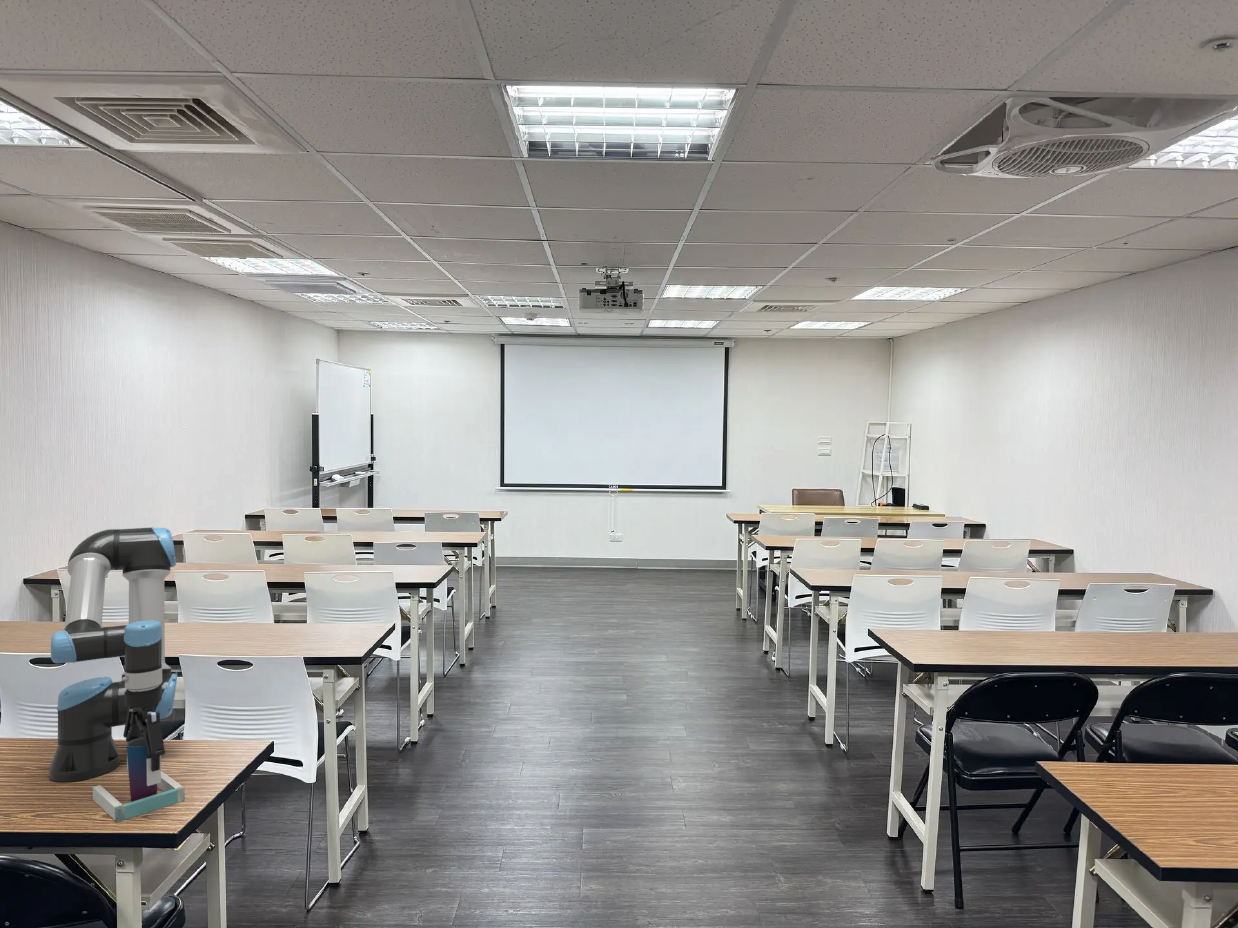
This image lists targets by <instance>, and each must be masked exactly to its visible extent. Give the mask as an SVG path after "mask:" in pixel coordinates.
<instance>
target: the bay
mask: <svg viewBox="0 0 1238 928" xmlns="http://www.w3.org/2000/svg"><path fill="white" fill-rule="evenodd" d="M157 789H159V790H161V791H162V792H160V793H157V794H156V795H153V796H149V797H146V798H143V799H140V800H136V801H133V802H131V801H130V802H128V803H124V804H122V803H121V802H120V801H119V800H118V799H116V797H114V796H113V795H112V794H111V792H108V790H106V788H104V787H103V786H102V785H101V784H100V785H95V786H92V801H94V803H96V804H97V805H98V806H99V807H100V808H101V809H102V810H104V811H105V813H107V815H109V817H111V818H112V819H113V820H114V822H116V823H119V822H123V821H126V820H129V819H132V818H134V817H137V816H141V815H144V814H147V813H151V812H153V811H156V810H159V809H162V808H166V807H168V806H172V805H175V804H178V803H181V802H184V801H185V800H186V789H185V787H184V786H183V785H181V784H180V783H178V781H176V780H175V779H174V778H171V777H170V776H169V775H167V774H166V773H165V772H163V771H162V770H161V782H160V783H157Z"/></svg>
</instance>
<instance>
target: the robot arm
mask: <svg viewBox="0 0 1238 928" xmlns="http://www.w3.org/2000/svg"><path fill="white" fill-rule="evenodd" d="M175 552H176V551H175V545H174V540H173V535H172V533H171V530H170V529H169V528H166V527H153V526H150V527H138V528H136V527H135V528H117V529H115V528H113V529H112V528H111V529H109V528H108V529H105V530H101V531H98V532H95V533H93V534H91V535H90V536H88V537H87V538H85V539H84V540H83V541H81V542H80V543H79V544H77V546H76V547H75V549H74V550H73V551H72V552H71V554H70V556H69V558H68V563H67V567H66V568H67V573H68V574H69V576H70V583H69V589H68V597H67V605H66V611H65V618H64V619H65V620H64V628H63V630H61V631H56V632H54V633H53V634H52V636H51V640H50V659H51V661H52V662H53V663H54V664H67V663H68V664H69V663H74V664H75V663H79V662H86V661H94V660H101V659H103V660H104V659H111V658H119V657H124V671H123V673H122V674H121V681H113V679H112V678H111V677H110V676H99V677H93V678H89V679H85V680H82V681H79V682H75V683H72V684H70V685H68V686H67V687H64V688H63V689H62V690H60V692H59V694H58V696H57V707H56V711H57V746H56V750H55V753H54V756H53V758H52V761H51V762H50V766H49V771H48V773H49V774H48V775H49V776H48V777H49V778H48V779H49V780H51V781H53V782H59V783H61V782H62V783H65V782H66V783H67V782H69V783H70V782H77V781H82V780H83V781H84V780H88V779H92V778H95V777H98V776H99V777H100V776H101V775H104V774H107V773H110V772H112V771H114V770H115V769H116V768H118V767H119V765H120V764H121V763H120V753H119V751H118V748H117V746H116V743H115V740H114V738H113V734H112V733H113V732H112V730H113V728H114V727H121V726H124V730H123V738H124V739H125V741H126V743H128V742H129V741H131V740H134V739H137V738H141V737H144V740H145V744H146V748H147V752H148V755H146V757H145V759H147V786H150V785H153V784H157V783H160V782H161V771H162V755H165V754H166V750H165V744H164V738H163V732H162V725H161V720H162V719H166V718H167V717H168V718H169V716H171V715H172V713H173V711H174V710H173V708H174V705H175V704H174V702H175V698H176V697H175V696H176V688H177V679H178V674H176V673H172V667H171V666H170V665H168V664H167V663H166V657H165V655H166V653H165V651H166V650H165V649H166V648H165V645H166V643H165V639H166V637H165V636H166V635H165V634H166V633H165V632H166V631H165V627H166V625H165V624H166V622H165V620H166V619H165V615H166V614H165V613H166V612H165V579H166V577H168V576H169V574H171V568H173V567H175V566H176V565H177V561H176V553H175ZM110 571H122V577H123V578H124V579H126V580H127V581H128V624H125V625H124V624H123V625H113V626H102V625H103V615H104V613H103V612H104V600H105V587H106V578H107V577H106V576H107V575H108V574H109V572H110ZM142 735H143V736H142ZM155 750H157V751H155ZM126 770H127V771H128V759H127V758H126Z"/></svg>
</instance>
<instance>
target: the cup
mask: <svg viewBox="0 0 1238 928" xmlns="http://www.w3.org/2000/svg"><path fill="white" fill-rule="evenodd" d="M155 751H157V750H155ZM146 755H148V752H147V748H146V744H145V740H144V736H142V737H141V738H137V739H134V740H131V741H129V742H126V760H127V759H128V770H127V772H128V783H129V794H130V795H129V796H130V802H133V801H136V800H140V799H143V798H146V797H149V796H153V795H156V794H158V787H157V784H153V785H150V786H147V759H145V757H146Z"/></svg>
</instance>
